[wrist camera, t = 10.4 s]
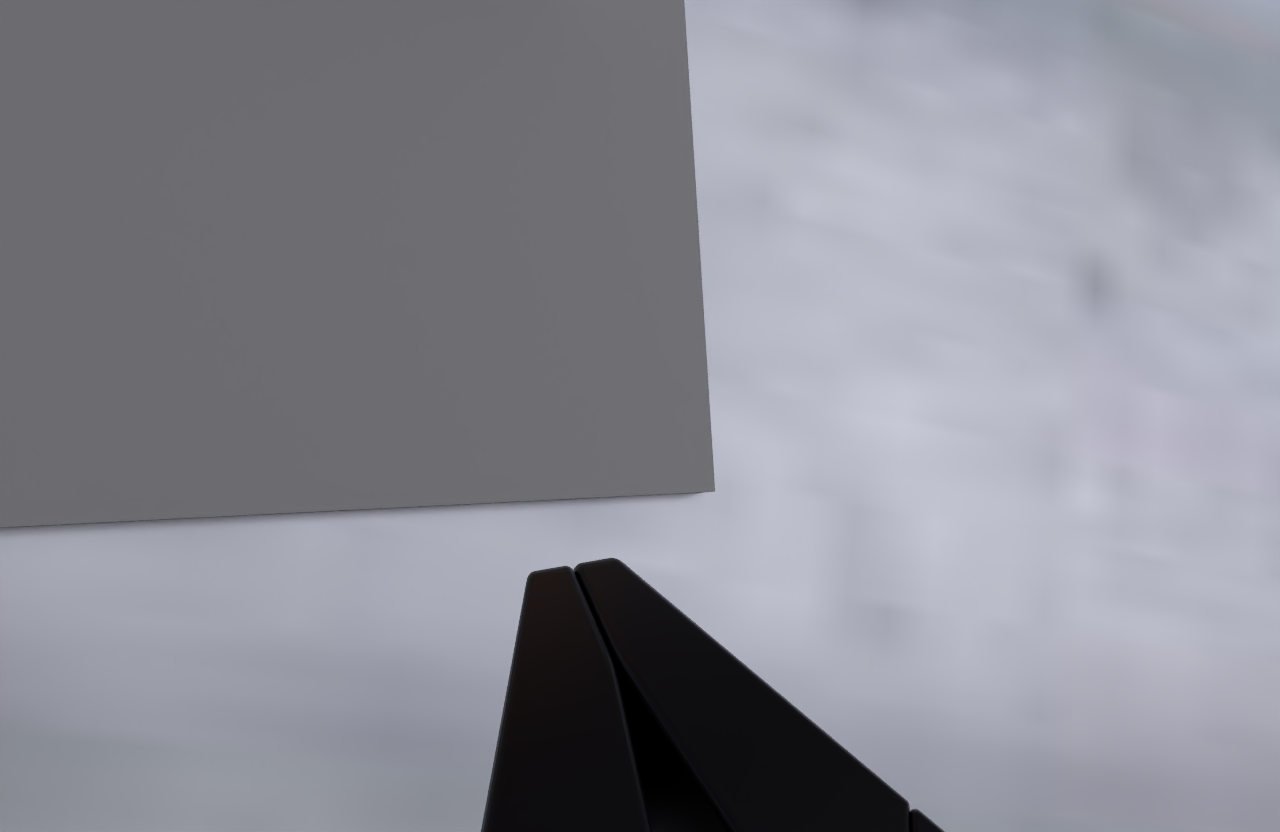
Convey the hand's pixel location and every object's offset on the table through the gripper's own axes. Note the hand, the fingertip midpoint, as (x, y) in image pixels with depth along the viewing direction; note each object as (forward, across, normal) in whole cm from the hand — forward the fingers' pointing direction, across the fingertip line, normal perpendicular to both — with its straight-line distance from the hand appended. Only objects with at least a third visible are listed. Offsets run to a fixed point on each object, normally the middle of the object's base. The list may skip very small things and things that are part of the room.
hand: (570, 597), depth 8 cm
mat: (+17, +2, -2) cm, 18 cm away
